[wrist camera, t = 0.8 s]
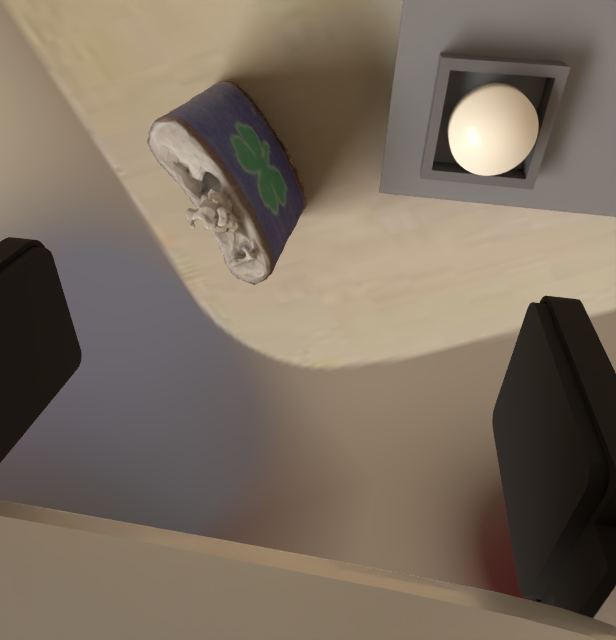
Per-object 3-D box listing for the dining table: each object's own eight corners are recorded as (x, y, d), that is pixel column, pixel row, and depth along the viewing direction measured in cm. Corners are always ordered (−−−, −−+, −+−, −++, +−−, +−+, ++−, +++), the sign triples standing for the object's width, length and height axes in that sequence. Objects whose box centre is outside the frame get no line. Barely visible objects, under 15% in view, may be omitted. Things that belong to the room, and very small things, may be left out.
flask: (200, 93, 30) (115, 144, 22) (240, 67, 29) (168, 110, 20) (280, 224, 34) (235, 312, 26) (318, 206, 33) (285, 292, 24)
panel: (435, -246, 21) (438, -280, 18) (896, -244, 19) (983, -282, 16) (380, 181, 31) (377, 203, 28) (676, 210, 29) (706, 237, 26)
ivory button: (456, 78, 25) (458, 85, 23) (543, 85, 24) (550, 92, 23) (440, 161, 27) (442, 171, 26) (519, 169, 26) (524, 179, 25)
